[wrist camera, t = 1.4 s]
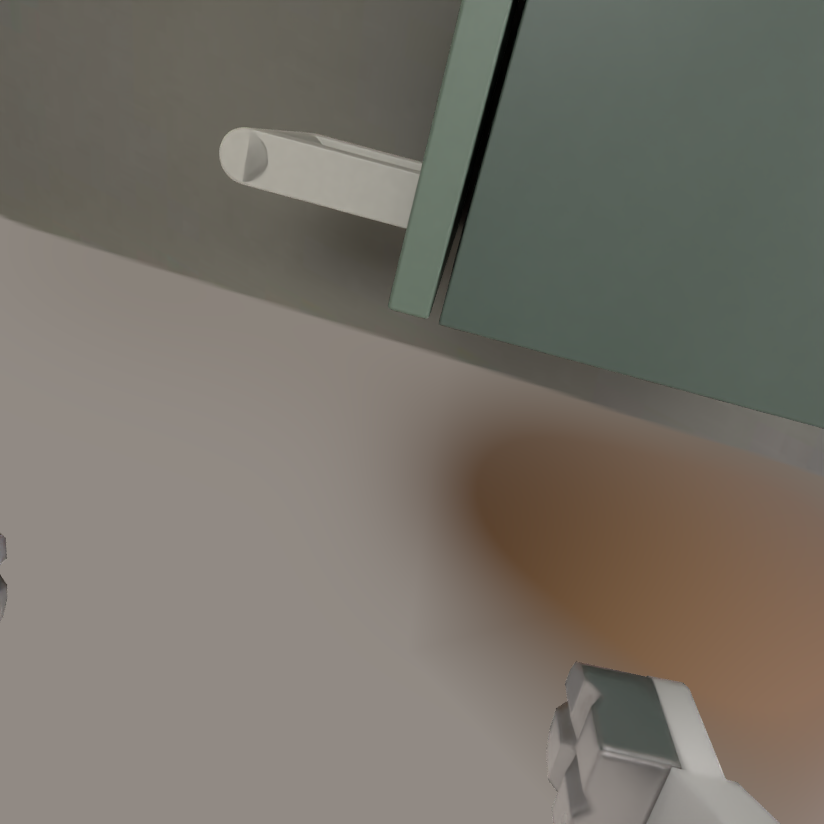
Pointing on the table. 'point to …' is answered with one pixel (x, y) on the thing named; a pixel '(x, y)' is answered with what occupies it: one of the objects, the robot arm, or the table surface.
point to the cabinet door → (395, 160)
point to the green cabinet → (658, 198)
